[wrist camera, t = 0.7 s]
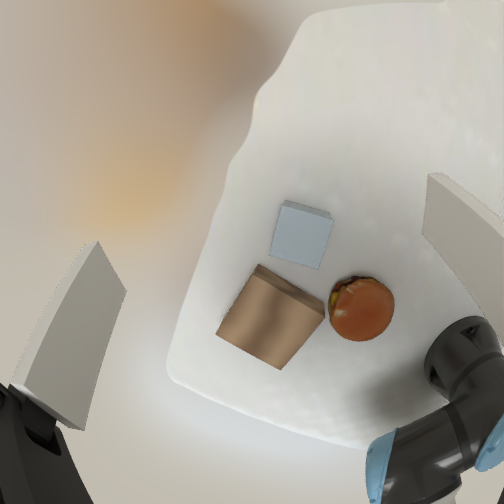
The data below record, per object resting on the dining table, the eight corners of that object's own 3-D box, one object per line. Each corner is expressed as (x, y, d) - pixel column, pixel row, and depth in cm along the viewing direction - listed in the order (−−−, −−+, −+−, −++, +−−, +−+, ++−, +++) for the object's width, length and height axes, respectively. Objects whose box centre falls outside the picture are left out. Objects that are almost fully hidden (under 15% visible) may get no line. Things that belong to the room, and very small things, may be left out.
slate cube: (329, 212, 36) (333, 220, 31) (316, 254, 38) (318, 269, 33) (285, 199, 37) (281, 205, 31) (273, 242, 39) (268, 255, 33)
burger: (389, 325, 39) (397, 341, 35) (331, 335, 41) (333, 353, 37) (386, 265, 37) (396, 277, 33) (323, 277, 39) (325, 290, 35)
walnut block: (323, 302, 40) (325, 317, 36) (282, 352, 44) (280, 370, 40) (258, 263, 40) (253, 274, 36) (223, 319, 44) (215, 334, 40)
